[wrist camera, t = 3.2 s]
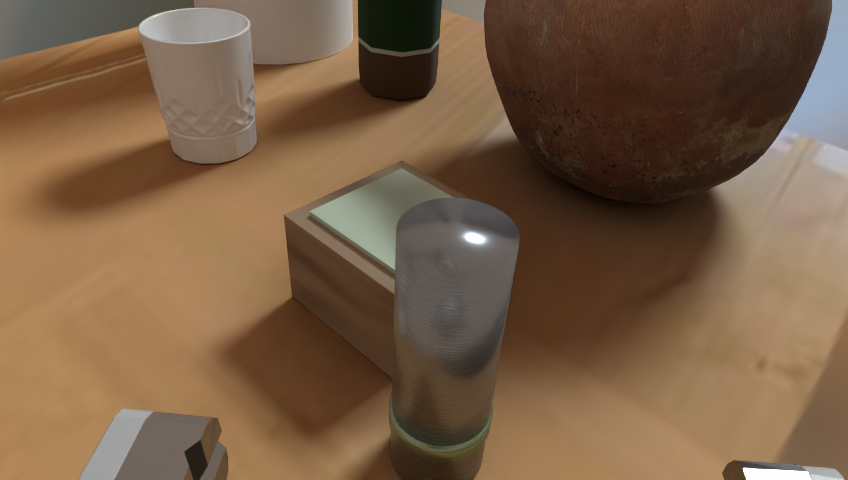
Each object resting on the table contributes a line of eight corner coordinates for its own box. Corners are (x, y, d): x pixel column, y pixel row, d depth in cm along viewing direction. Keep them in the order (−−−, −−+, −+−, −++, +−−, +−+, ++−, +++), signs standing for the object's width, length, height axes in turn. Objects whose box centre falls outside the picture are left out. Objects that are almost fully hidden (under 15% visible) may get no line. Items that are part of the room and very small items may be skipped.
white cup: (282, 147, 53) (271, 27, 47) (196, 180, 49) (171, 51, 43) (231, 114, 58) (214, 1, 52) (147, 142, 53) (118, 20, 47)
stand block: (394, 380, 34) (397, 291, 30) (292, 296, 39) (283, 210, 35) (501, 302, 39) (515, 218, 35) (399, 236, 44) (402, 156, 40)
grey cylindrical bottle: (438, 515, 28) (463, 292, 20) (368, 449, 30) (366, 228, 23) (504, 452, 31) (548, 234, 23) (434, 396, 33) (453, 182, 25)
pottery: (801, 178, 53) (969, -180, 38) (653, 298, 40) (820, -174, 25) (578, 87, 66) (638, -207, 51) (411, 156, 53) (426, -212, 38)
